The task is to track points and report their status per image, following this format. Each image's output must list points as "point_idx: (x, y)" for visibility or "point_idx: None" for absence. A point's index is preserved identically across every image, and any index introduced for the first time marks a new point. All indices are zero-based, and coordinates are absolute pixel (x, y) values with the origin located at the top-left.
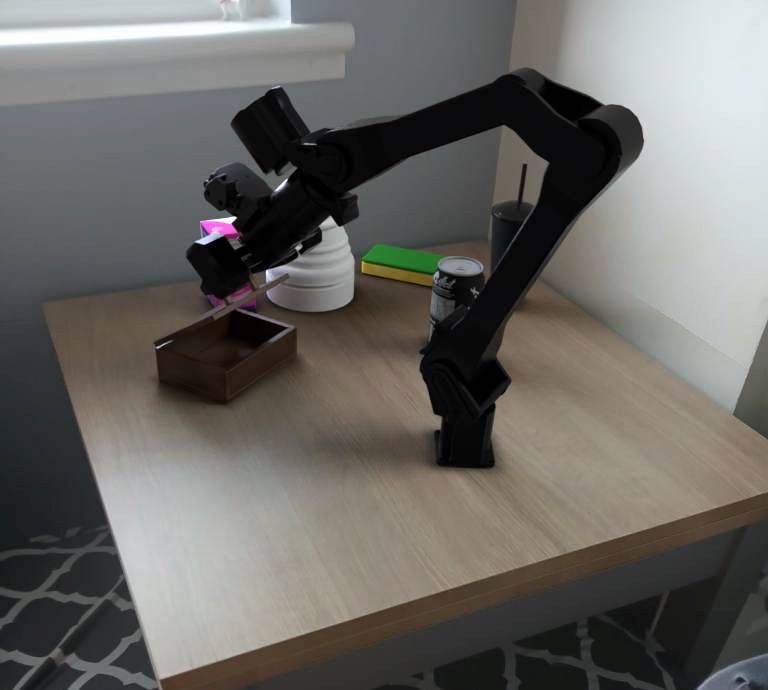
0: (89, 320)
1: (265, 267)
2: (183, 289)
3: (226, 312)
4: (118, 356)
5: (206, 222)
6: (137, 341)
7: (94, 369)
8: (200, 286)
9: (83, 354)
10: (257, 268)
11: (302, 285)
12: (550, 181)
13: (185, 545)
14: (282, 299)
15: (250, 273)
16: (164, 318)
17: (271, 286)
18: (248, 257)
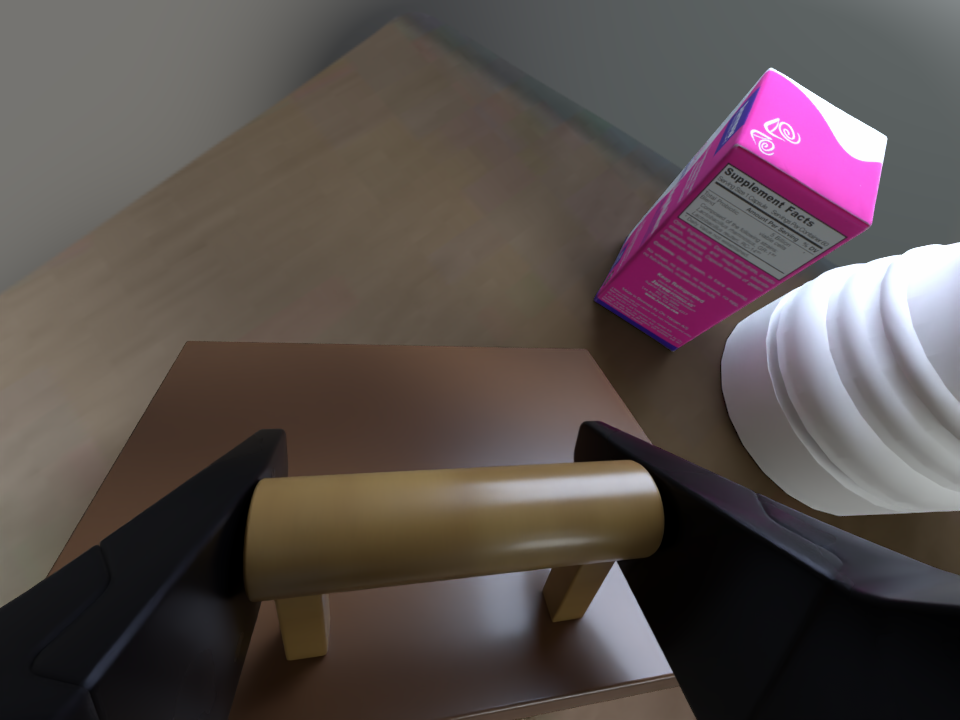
0: (386, 106)
1: (692, 692)
2: (616, 181)
3: None
4: (281, 238)
5: (782, 84)
6: (371, 231)
7: (187, 230)
8: (250, 436)
9: (242, 172)
10: (656, 605)
11: (812, 436)
12: None
13: None
14: (739, 390)
15: (599, 569)
16: (496, 218)
17: (630, 693)
18: (677, 524)
